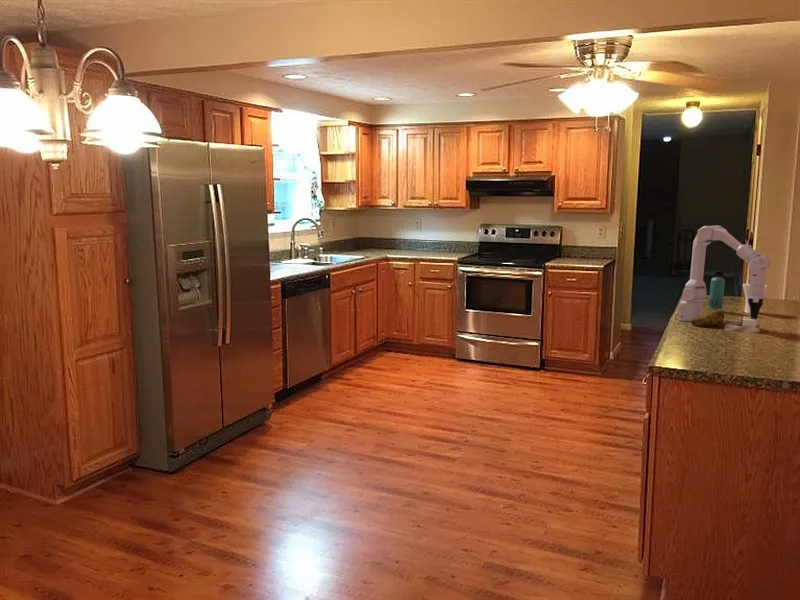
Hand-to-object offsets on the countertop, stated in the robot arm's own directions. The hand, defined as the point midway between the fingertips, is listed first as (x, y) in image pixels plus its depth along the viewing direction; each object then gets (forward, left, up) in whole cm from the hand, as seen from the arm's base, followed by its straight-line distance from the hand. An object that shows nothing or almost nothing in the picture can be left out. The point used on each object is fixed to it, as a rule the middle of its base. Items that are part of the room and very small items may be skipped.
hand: (753, 316), depth 282 cm
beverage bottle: (-17, +44, -7) cm, 47 cm away
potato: (-18, 0, -7) cm, 19 cm away
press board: (-4, 0, -7) cm, 8 cm away
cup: (-1, +49, -7) cm, 49 cm away
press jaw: (-2, 0, -6) cm, 6 cm away
